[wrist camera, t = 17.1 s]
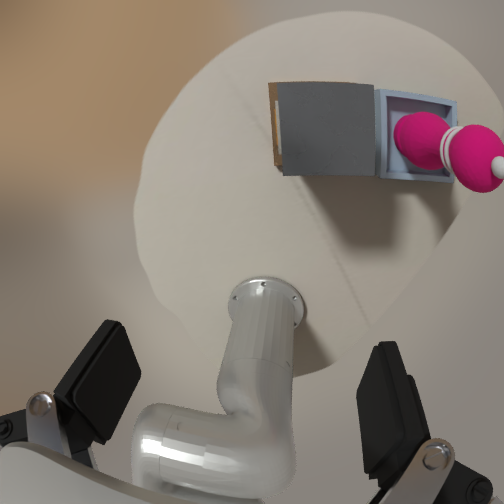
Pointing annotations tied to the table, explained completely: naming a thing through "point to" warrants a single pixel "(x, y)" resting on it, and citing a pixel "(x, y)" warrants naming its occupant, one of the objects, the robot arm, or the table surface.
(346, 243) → the table surface
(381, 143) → the parts tray
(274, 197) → the table surface
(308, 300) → the table surface
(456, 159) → the pepper mill
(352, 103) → the control unit
